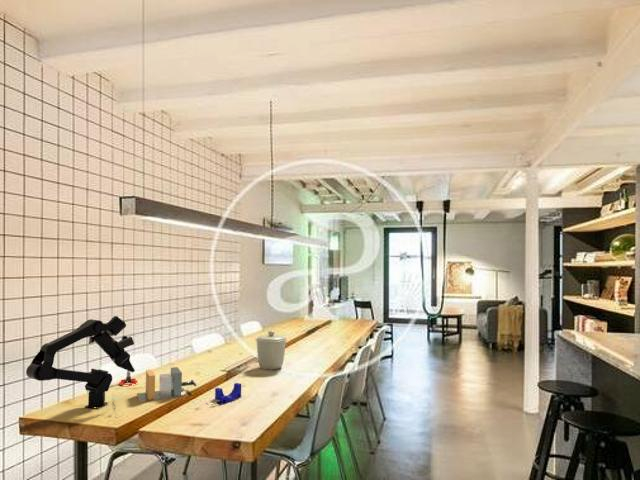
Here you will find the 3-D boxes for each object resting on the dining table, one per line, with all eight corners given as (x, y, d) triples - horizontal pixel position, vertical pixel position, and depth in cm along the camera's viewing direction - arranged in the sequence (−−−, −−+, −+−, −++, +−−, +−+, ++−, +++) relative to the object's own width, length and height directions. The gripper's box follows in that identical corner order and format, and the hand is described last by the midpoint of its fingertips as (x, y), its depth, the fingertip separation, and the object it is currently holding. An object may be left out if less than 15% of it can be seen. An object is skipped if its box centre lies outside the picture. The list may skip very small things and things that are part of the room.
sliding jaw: (148, 399, 187) (148, 376, 188) (145, 392, 198) (146, 370, 198) (154, 399, 188) (155, 375, 189) (151, 391, 199) (152, 369, 199)
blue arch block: (221, 404, 187) (221, 390, 187) (214, 402, 190) (215, 388, 190) (243, 398, 196) (243, 384, 197) (236, 396, 199) (236, 382, 200)
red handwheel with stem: (137, 386, 215) (137, 380, 224) (138, 359, 216) (138, 355, 224) (118, 388, 212) (119, 382, 221) (119, 361, 212) (119, 356, 221)
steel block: (161, 396, 192) (161, 378, 192) (159, 392, 198) (159, 374, 198) (170, 395, 194) (171, 377, 194) (168, 391, 200) (169, 373, 200)
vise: (139, 405, 185) (140, 377, 186) (136, 396, 197) (137, 370, 197) (197, 397, 196) (197, 371, 196) (191, 390, 207) (192, 365, 208)
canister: (249, 370, 248) (250, 332, 249) (262, 363, 265) (263, 327, 266) (279, 372, 243) (279, 333, 244) (291, 365, 260) (291, 329, 261)
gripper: (126, 332, 183) (151, 359, 187) (120, 328, 199) (143, 353, 203) (103, 351, 178) (129, 379, 182) (99, 346, 194) (123, 371, 198)
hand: (132, 369), depth 191 cm, fingers open, 9 cm apart
